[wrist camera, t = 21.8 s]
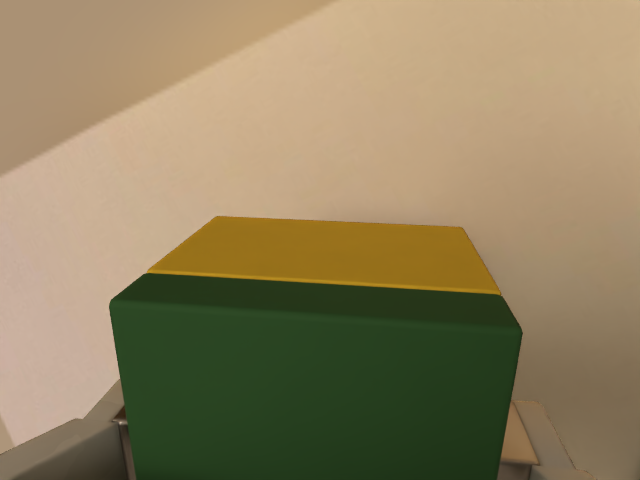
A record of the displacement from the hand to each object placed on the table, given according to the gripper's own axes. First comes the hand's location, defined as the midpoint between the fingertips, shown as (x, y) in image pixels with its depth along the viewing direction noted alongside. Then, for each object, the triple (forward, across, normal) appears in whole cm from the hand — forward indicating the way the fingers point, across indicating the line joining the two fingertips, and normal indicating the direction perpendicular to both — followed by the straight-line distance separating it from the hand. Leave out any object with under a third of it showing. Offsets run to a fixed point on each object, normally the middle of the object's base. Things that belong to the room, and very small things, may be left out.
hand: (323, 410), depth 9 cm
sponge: (+1, 0, 0) cm, 1 cm away
